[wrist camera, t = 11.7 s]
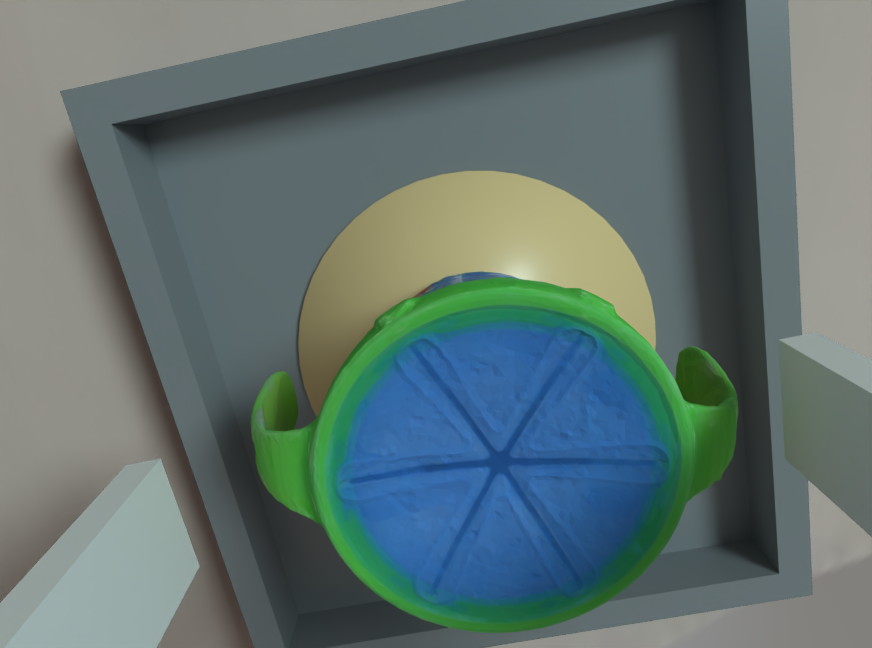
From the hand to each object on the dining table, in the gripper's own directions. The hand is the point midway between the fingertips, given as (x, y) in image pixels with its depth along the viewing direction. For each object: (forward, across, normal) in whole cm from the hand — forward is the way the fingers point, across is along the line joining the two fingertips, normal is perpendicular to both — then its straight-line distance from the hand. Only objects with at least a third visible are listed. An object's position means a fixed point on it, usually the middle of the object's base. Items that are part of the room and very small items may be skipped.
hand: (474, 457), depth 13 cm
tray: (+7, 0, 0) cm, 8 cm away
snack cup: (+7, +1, 0) cm, 7 cm away
